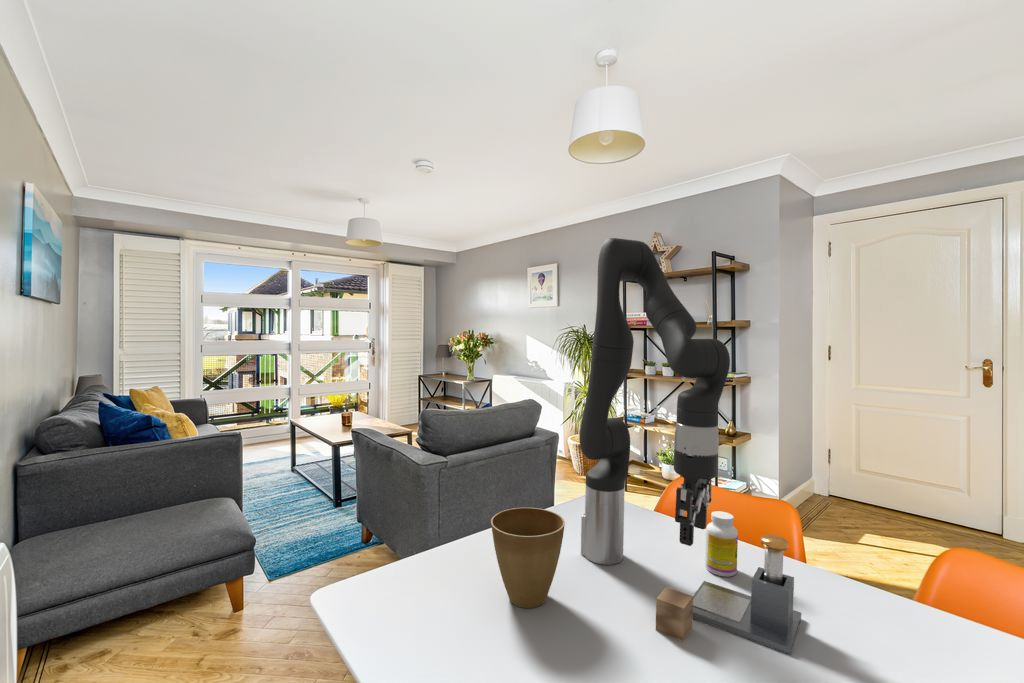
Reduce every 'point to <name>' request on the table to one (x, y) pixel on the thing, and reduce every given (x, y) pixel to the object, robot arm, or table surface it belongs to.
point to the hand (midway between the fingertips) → (693, 535)
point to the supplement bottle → (721, 545)
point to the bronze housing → (674, 613)
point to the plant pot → (527, 552)
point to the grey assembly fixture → (752, 611)
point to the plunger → (773, 558)
